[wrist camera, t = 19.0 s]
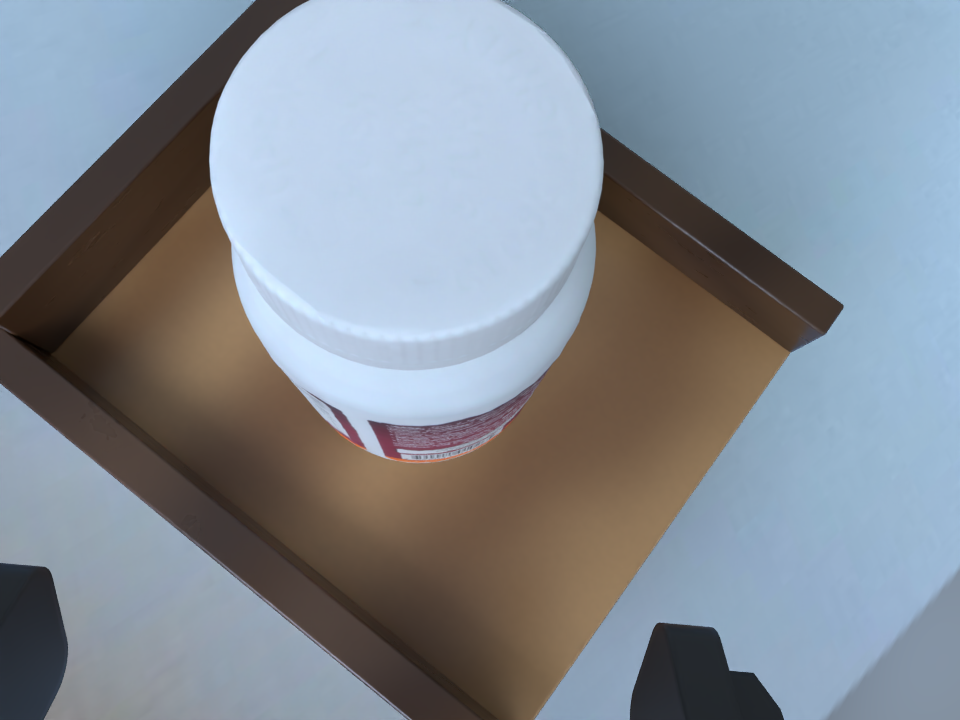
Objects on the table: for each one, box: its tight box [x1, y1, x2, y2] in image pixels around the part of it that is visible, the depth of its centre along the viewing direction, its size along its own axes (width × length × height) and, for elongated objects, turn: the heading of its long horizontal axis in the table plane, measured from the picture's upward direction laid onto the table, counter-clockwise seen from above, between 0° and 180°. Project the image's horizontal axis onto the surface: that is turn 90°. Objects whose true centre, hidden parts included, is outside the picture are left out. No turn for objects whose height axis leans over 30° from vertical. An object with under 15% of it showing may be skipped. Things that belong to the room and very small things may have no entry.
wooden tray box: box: [0, 0, 844, 720], centre depth 25 cm, size 16×14×12 cm
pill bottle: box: [209, 0, 604, 463], centre depth 16 cm, size 6×6×11 cm
